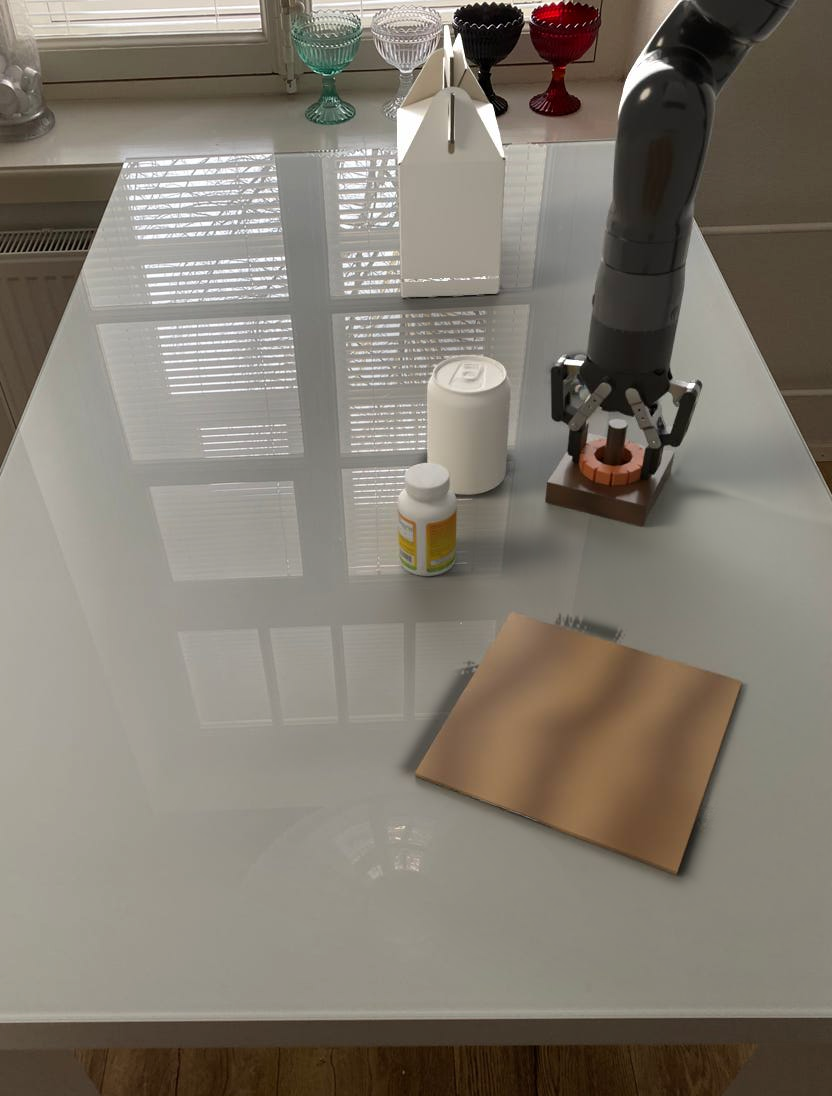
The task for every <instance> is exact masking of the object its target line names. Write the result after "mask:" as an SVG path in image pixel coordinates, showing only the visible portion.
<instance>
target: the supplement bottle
mask: <svg viewBox="0 0 832 1096" xmlns="http://www.w3.org/2000/svg"><path fill="white" fill-rule="evenodd" d="M449 486H450V475H449V472H448V470H447V469H446V468H445V467H443V466H441V465H438V464H435V463H427V462H422V463H418V464H414V465H412V466H411V467H408V469H407V470H406V471H405V473H404V488H403V489H402V490H401V491H400V493H399V495H398V498H397V530H398V531H397V532H398V556H399V557H398V558H399V562H400V564H401V566H402V567H403V568H404V570H406V571H408V572H409V573H410V574H413V575H416V576H421V577H432V576H438V575H441V574H444V573H446V572H447V571H449V570H450V569H451V568H452V567H453V565H454V564H455V561H456V557H457V521H458V520H457V517H458V516H457V515H458V514H457V513H458V502H457V501H458V500H457V497H456V494H455V493H454V492H453V491H452V490H451V489H450V488H449Z"/></svg>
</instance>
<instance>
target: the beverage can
mask: <svg viewBox="0 0 832 1096" xmlns="http://www.w3.org/2000/svg"><path fill="white" fill-rule="evenodd" d="M507 374H508V373H507V369H506V367H505V366H504V365H503V364H502V363H501V362H499V361H498V360H496V359H493V358H490V357H488V356H483V355H474V354H466V355H465V354H464V355H456V356H453V357H452V356H451V357H450V358H449V357H448V358H447V359H444V360H442V361H440V362H439V363H437V365H435V367H434V368H433V370H432V373H431V376H430V378H429V379H428V381H427V385H426V386H427V388H426V398H427V399H426V400H427V401H426V403H427V404H426V407H427V409H426V412H427V414H426V415H427V416H426V417H427V418H426V422H427V423H426V425H427V426H426V428H427V429H426V431H427V432H426V433H427V435H426V436H427V438H426V439H427V441H426V442H427V446H426V448H427V450H426V451H427V453H426V454H427V455H426V456H427V459H426V460H427V462H426V463H435V464H438V465H441V466H443V467H445V468H446V469H447V470H448V472H449V475H450V486H449V488H450V489H451V490H452V491H453V492H454V494H455V495H465V496H466V495H467V496H469V495H478V494H483V493H485V492H489V491H490V490H493V489H495V488H496V487H498V486H499V485H500V484H501V483H502V482H503V480H504V479H505V477H506V474H507V473H506V472H507V457H508V456H507V455H508V441H509V440H508V439H509V426H510V425H509V423H510V410H511V409H510V408H511V393H512V392H511V391H512V384H511V381H510V378H509V377H508V375H507Z"/></svg>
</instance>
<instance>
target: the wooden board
mask: <svg viewBox="0 0 832 1096" xmlns="http://www.w3.org/2000/svg"><path fill="white" fill-rule="evenodd" d="M742 684H743V680H741V679H738V678H733V677H731V676H727V675H723V674H720V673H717V672H714V671H710V670H707V669H704V668H700V667H697V666H693V665H690V664H686V663H683V662H680V661H676V660H673V659H670V658H667V657H664V656H661V655H655V654H653V653H650V652H647V651H643V650H640V649H636V648H633V647H630V646H626V645H623V644H619V643H616V642H613V641H609V640H606V639H604V638H603V639H602V638H600V637H596V636H593V635H589V634H585V633H583V632H579V631H575V630H572V629H569V628H565V627H562V626H559V625H556V624H552V623H549V622H546V621H543V620H539V619H536V618H532V617H529V616H527V615H526V616H525V615H522V614H519V613H515V612H512V611H511V612H510V613H509V615H508V616H507V619H505V622H504V623H503V625H502V626H501V628H500V630H499V631H498V633H497V635H496V637H495V638H494V640H493V642H492V643H491V645H490V647H489V648H488V650H487V651H486V653H485V655H484V657H483V658H482V660H481V661H480V663H479V665H478V667H477V668H476V670H475V671H474V674H473V675H472V676H471V679H470V680H469V681H468V683H467V685H466V687H465V688H464V690H463V692H462V693H461V695H460V697H459V698H458V699H457V702H456V704H455V705H454V707H453V708H452V710H451V712H450V714H449V715H448V717H447V718H446V720H445V722H444V723H443V725H442V727H441V728H440V730H439V732H438V734H437V735H436V737H435V739H434V740H433V742H432V744H431V745H430V747H429V749H428V750H427V751H426V753H425V755H424V757H423V758H422V760H421V762H420V764H419V765H418V767H417V769H416V770H415V772H414V777H416V776H417V777H416V778H418V777H420V778H419V779H421V778H422V779H421V780H423V779H425V780H424V781H426V780H428V781H427V782H429V781H431V782H433V783H432V784H434V783H437V784H440V785H442V786H445V787H447V788H449V789H448V790H450V789H453V790H456V791H458V792H461V793H463V794H467V795H470V796H474V797H476V798H480V799H482V800H485V801H487V802H489V803H493V804H495V805H498V806H500V807H504V808H506V809H508V810H512V811H515V812H518V813H520V814H522V815H524V816H528V817H530V818H532V819H535V820H537V821H539V822H540V823H543V824H546V825H548V826H550V827H549V828H551V827H552V828H551V829H553V828H554V829H553V830H556V829H557V830H556V831H559V832H562V833H563V834H567V835H570V836H572V837H575V838H578V839H581V840H583V841H586V842H588V843H590V844H592V845H596V846H599V847H601V848H604V849H606V850H609V851H612V852H614V853H617V854H620V855H622V856H625V857H628V858H630V859H633V860H634V861H635V860H636V861H638V862H641V863H644V864H646V865H648V866H650V867H654V868H657V869H660V870H662V871H663V872H664V871H665V872H668V873H669V874H672V875H676V876H677V875H678V872H679V869H680V866H681V863H682V860H683V857H684V855H685V852H686V848H687V846H688V843H689V840H690V837H691V834H692V831H693V828H694V825H695V822H696V819H697V816H698V814H699V810H700V807H701V805H702V801H703V799H704V795H705V793H706V790H707V788H708V784H709V781H710V779H711V778H710V777H711V776H712V772H713V769H714V767H715V763H716V760H717V757H718V754H719V751H720V748H721V746H722V742H723V739H724V736H725V733H726V731H727V728H728V725H729V722H730V719H731V716H732V713H733V710H734V707H735V704H736V701H737V698H738V696H739V692H740V690H741V687H742ZM431 782H430V783H431ZM437 784H436V785H437ZM442 786H441V787H442ZM445 787H444V788H445ZM447 788H446V789H447ZM453 790H452V791H453ZM458 792H457V793H458ZM461 793H460V794H461ZM463 794H462V795H463ZM540 823H539V824H540ZM543 824H542V825H543ZM548 826H547V827H548Z"/></svg>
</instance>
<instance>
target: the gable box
mask: <svg viewBox="0 0 832 1096" xmlns="http://www.w3.org/2000/svg"><path fill="white" fill-rule="evenodd" d="M443 31H444V32H443V47H440V48H438V49H435V50H433V52H431V54H430V55H429V56H428V58H427V60H426V62H425V63H424V65H423V66H422V69H421V70H420V72H419V74H418V75H417V77H416V79H415V80H414V81H413V84H412V86H411V87H410V89H409V91H408V93H407V94H406V96H405V97H404V100H403V101H402V102H401V105H400V106H399V108H398V109H397V110H396V129H397V132H396V133H397V171H398V172H397V177H398V179H397V181H398V222H399V224H398V225H399V263H400V264H399V265H400V266H399V267H400V279H401V278H402V279H424V278H432V279H440V278H442V279H444V278H450V279H452V278H468V277H483V276H486V277H488V276H498V275H500V276H501V265H502V244H503V225H504V205H505V204H504V203H505V181H506V163H507V161H506V160H507V159H506V155H505V151H504V146H503V143H502V138H501V133H500V130H499V125H498V121H497V119H496V114H495V110H494V106H493V104H492V103H491V102H490V101H489V98H488V97H487V96H486V93H485V91H484V90H483V88H482V86H481V85H480V84H479V82H478V80H477V78H476V76H475V75H474V73H473V72H472V70H471V68H470V66H469V65H468V63H467V59H466V56H465V51H464V46H463V45H464V44H463V40H462V36H461V33H457V36H456V38H455V41H454V43H453V44H452V39H451V33H450V27H449V25H444V30H443ZM500 282H501V277H500V278H496V279H472V280H448V281H424V282H401V281H400V297H401V296H402V297H408V296H432V295H457V294H482V293H498V292H499V293H500V287H501V284H500ZM499 293H498V294H499Z"/></svg>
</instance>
